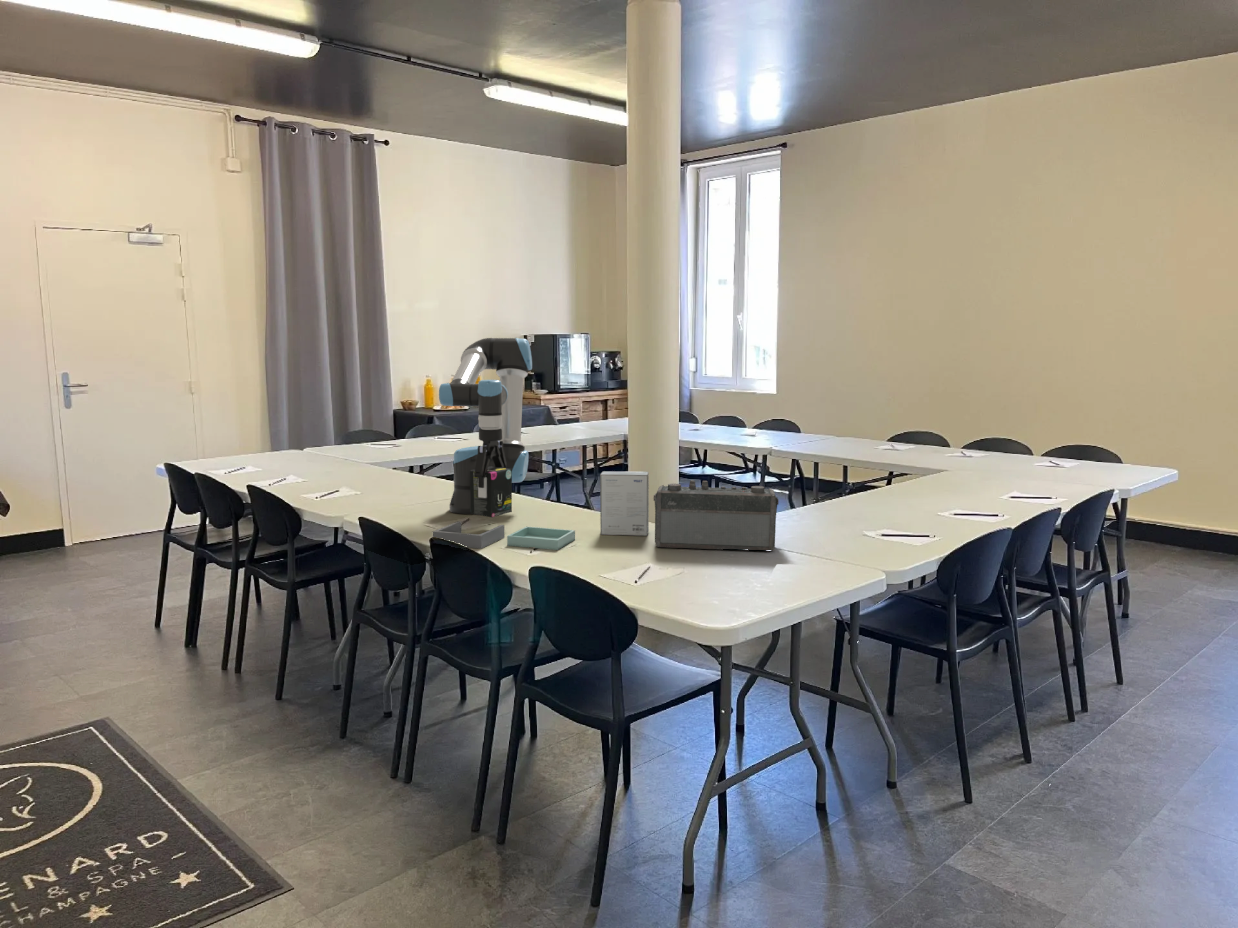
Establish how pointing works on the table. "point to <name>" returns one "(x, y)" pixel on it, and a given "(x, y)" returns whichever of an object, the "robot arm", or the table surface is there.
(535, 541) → the tray
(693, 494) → the radio
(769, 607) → the table surface
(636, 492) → the hard drive box
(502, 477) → the tampon box
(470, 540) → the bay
